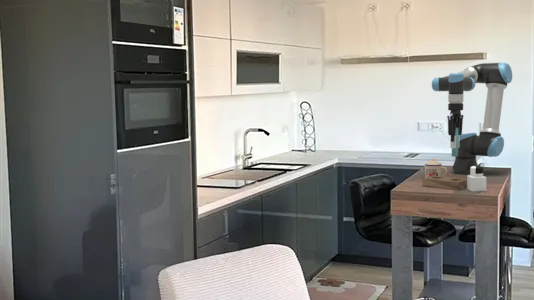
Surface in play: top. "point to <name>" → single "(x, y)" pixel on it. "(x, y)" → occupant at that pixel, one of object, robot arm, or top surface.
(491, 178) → the top surface
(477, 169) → the medicine bottle
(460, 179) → the walnut hole block
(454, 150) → the teal peg
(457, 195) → the top surface
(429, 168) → the teacup with lid
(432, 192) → the top surface
